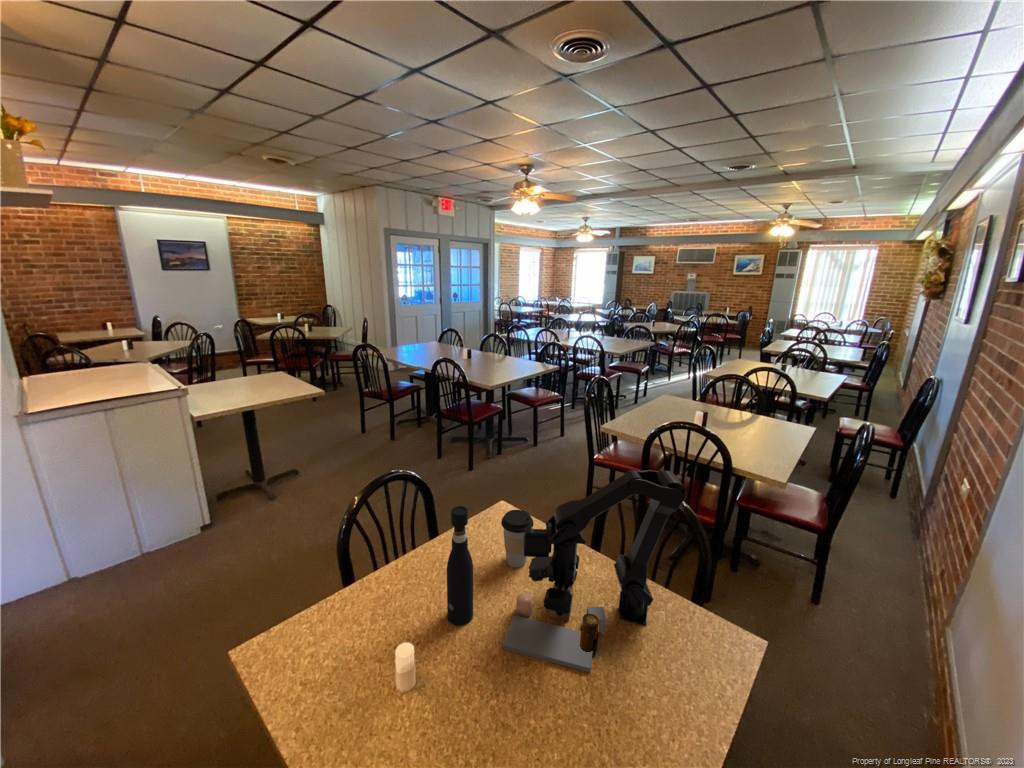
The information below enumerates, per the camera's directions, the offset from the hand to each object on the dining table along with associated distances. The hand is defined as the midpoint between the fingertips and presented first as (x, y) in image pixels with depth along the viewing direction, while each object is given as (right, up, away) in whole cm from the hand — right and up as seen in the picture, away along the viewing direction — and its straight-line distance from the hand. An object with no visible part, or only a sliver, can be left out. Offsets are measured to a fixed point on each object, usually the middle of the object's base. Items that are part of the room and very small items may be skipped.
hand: (561, 607), depth 107 cm
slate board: (-4, -4, -9) cm, 11 cm away
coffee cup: (-11, +4, +18) cm, 22 cm away
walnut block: (0, -1, 0) cm, 1 cm away
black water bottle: (-26, -1, -2) cm, 26 cm away
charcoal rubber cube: (+8, -3, -4) cm, 9 cm away
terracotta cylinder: (-10, -1, 0) cm, 10 cm away
